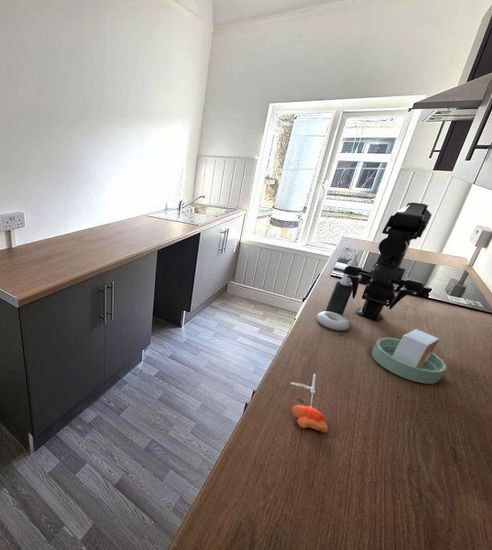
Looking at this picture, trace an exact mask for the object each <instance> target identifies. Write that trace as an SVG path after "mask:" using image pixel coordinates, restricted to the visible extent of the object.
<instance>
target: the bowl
mask: <svg viewBox="0 0 492 550" xmlns="http://www.w3.org/2000/svg"><path fill="white" fill-rule="evenodd" d="M400 341H401V339H400V338H393V337H382V338H379V339H378V340H377V341H376V342H375V344H374V346H373V349H372V351H371V356H372V358H373V360H375V362H376V363H377V364H379V365H380V366H381V367H382V368H384V369H385V370H387V371H389V372H390V373H392V374H394V375H397V376H398V377H400V378H403V379H407V380H409V381H412V382H416V383H420V384H430V385H431V384H432V385H434V384H436V383H439V382H440V381H441V378H442V377H443V375H444V373H445V372H446V370H447V364H446V361H444V360H443V359H442V358H441V357H440V356H439V355H437V354H436V353H434V352H432V353H431V355H430V356H429V358H428V360H427V362H426V363H425V365H424V367H423V368H422V369H421V368H417V367H414V366H411V365H408V364H406V363H404V362H401V361H399V360H397V359H395V358H394V357H392V356H393V354H394V352H395V350H396V348H397V347H398V345H399V343H400Z"/></svg>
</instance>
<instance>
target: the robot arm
mask: <svg viewBox="0 0 492 550" xmlns="http://www.w3.org/2000/svg"><path fill="white" fill-rule="evenodd" d="M428 207H429V204H426V203H419V202H408V203H407V204H406V206H405V207H403V208H401V209H399V210H398V211H396V212H395V213H394V214H391V215H390V216H389V218H388V220H387V222H386V224H385V226H384V228H383V229H382V232H381V234H384V235H387V236H386V237H385V238H382V240H381V241H380V242H379V244H378V251H379V253H378V255H377V258H376V260H375V263H374V264H373V265H372V267H371V270H369V271H368V270H364V267H362V266H359V265H358V266H354V265H348V266H347V265H346V266H345V268H344V271H343V272H342V273H343V275H344V274H347V275H348V276H347V277H348V278H351V285H352V293H351V295H352V299H353V300H355V299H356V296H357V293H358V290H359V284H360V282H361V277H364V278H365V277H366V278H369V279H370V280H371V281H370V282H369V284H368V283H367V284H366V285H365V288H364V290H363V292H362V296H361V300H365V301H364V303H363V305H362V308H360V309H359V310H358V311H357V314H358V315H361V316H362V317H363V316H364V317H366V318H368V319H372V320H374V321H379V320H380V319H381V318H382V316H383V314H381V313H382V311H383V309H384V307H387V308H388V307H389V308H388V310H390V311H391V310H392V309H393V308H394V307H395V306H396V305H397V304H398V303H399V302H400V301H401V300H402V299H403V298H405V297H406V296H408V295H415V293H417V294H422V292H423V290H424V289H425V283H424V281H422V280H416V279H413V278H406V279H403V277H404V275H405V272H406V268H403V267H401V266H402V263H403V261H404V258H405V257H406V254H407V251H408V249H409V247H410V245H411V241H412V240H417V239H418V238H419V239H420V238H422V236H423V233H424V231H425V230H426V228H427V227H428V224H429V222H430V220H431V217H432V216H433V215H432V213H431V212H430V211H429V210H428ZM397 285H398V286H401V288H400V289H399V291H398V293H396V291H394V290H395V288H396V286H397Z"/></svg>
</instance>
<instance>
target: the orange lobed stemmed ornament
mask: <svg viewBox="0 0 492 550" xmlns="http://www.w3.org/2000/svg"><path fill="white" fill-rule="evenodd" d="M316 378H317V375H316V373H313V375H312V383H311V386H309V385H306V384H304V383H298V382H294V381H291V382H290V385H293V386H296V387H303V388H305V389H307V390H310V393H311V399H310V405H303V404H296V405H293V406H292V407H291V411H292V412H291V413H292V415H293V416H294V418H296V423H297V424H298V427H300V428H302V429H307V428H310V429H313V430H315V431H319V432H321V433H327V432H328V431H329V428H328V425H327V423H326V422H325V416H324V415H323V413H322V412H321V411H320V410H318V409H316V408H315V407H314V406H313V397H314V394H315V393H316V388H315V386H316Z"/></svg>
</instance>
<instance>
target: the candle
mask: <svg viewBox="0 0 492 550" xmlns="http://www.w3.org/2000/svg"><path fill="white" fill-rule="evenodd" d="M348 265H354V266H358V267H359V263H358V254H357V253H356V254H354V256H353V257H352V259H351V260H349V261H348V262H347V264H346V266H348ZM347 276H348V275H347V274H344V273H343V275H342V276H341V279H340V281H337V282H335V285H334V287H333V290H332V292H331V296H330V298H329V301H328V303H327V306H326V309H325V311H327V312H334V313H337V314H340V315H342V316H344V312H345V309H346V308H347V305H348V302H349V300H350V298H351V295H352V282H351V278H348V277H347Z"/></svg>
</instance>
